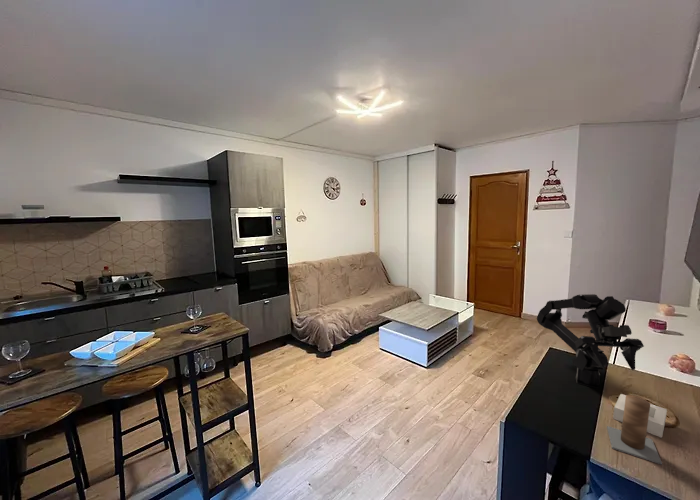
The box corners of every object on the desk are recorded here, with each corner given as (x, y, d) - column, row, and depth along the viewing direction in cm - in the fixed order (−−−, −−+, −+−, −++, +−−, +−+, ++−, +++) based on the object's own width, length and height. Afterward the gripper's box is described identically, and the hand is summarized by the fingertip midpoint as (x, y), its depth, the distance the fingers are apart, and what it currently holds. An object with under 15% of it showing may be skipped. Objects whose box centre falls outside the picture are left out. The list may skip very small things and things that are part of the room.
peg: (622, 444, 85) (627, 402, 84) (619, 433, 89) (624, 393, 88) (646, 452, 82) (652, 408, 81) (642, 441, 87) (647, 399, 85)
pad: (612, 448, 85) (612, 446, 84) (606, 427, 93) (607, 425, 93) (661, 464, 79) (662, 463, 79) (651, 440, 87) (651, 439, 87)
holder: (612, 418, 97) (614, 407, 96) (619, 404, 104) (620, 393, 103) (661, 437, 88) (663, 425, 88) (665, 421, 95) (667, 409, 95)
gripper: (582, 314, 106) (600, 359, 96) (642, 316, 103) (667, 363, 93) (568, 327, 114) (583, 369, 105) (623, 330, 111) (644, 373, 102)
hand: (618, 368), depth 101 cm, fingers open, 9 cm apart
